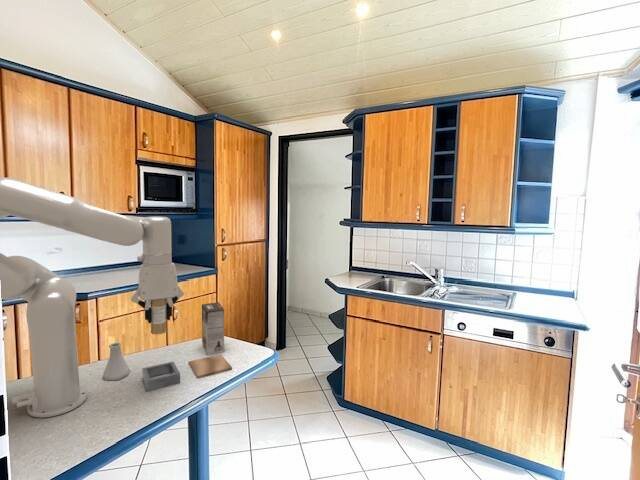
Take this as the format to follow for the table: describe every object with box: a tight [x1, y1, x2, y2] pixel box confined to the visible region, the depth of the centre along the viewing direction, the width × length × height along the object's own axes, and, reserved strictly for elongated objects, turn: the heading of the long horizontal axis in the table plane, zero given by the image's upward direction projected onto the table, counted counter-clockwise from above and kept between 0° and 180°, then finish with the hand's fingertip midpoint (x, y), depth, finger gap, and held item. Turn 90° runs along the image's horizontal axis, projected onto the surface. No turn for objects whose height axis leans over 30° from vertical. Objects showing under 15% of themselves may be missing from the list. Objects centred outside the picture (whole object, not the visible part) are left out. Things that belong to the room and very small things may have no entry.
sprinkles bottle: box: [150, 299, 168, 335], centre depth 104 cm, size 5×5×13 cm
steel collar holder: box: [141, 361, 181, 392], centre depth 106 cm, size 9×9×3 cm
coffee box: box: [201, 301, 225, 356], centre depth 128 cm, size 9×6×16 cm
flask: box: [101, 342, 131, 382], centre depth 108 cm, size 7×7×10 cm
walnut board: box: [187, 353, 233, 379], centre depth 115 cm, size 11×11×1 cm
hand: (158, 319), depth 104 cm, fingers closed on sprinkles bottle, 4 cm apart
